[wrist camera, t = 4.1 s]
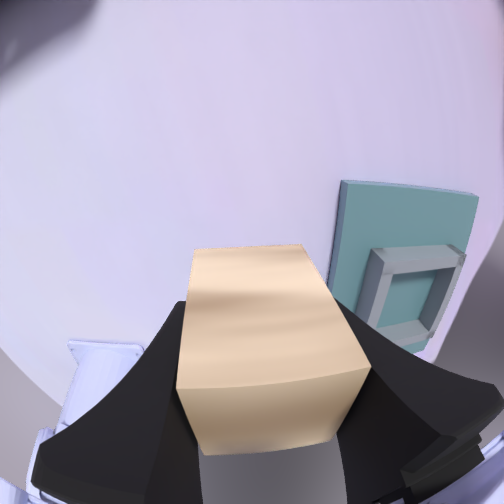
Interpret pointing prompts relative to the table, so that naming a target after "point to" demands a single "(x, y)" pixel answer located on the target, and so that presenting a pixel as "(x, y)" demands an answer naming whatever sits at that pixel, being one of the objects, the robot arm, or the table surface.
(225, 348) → the peg
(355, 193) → the dock
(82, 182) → the table surface
